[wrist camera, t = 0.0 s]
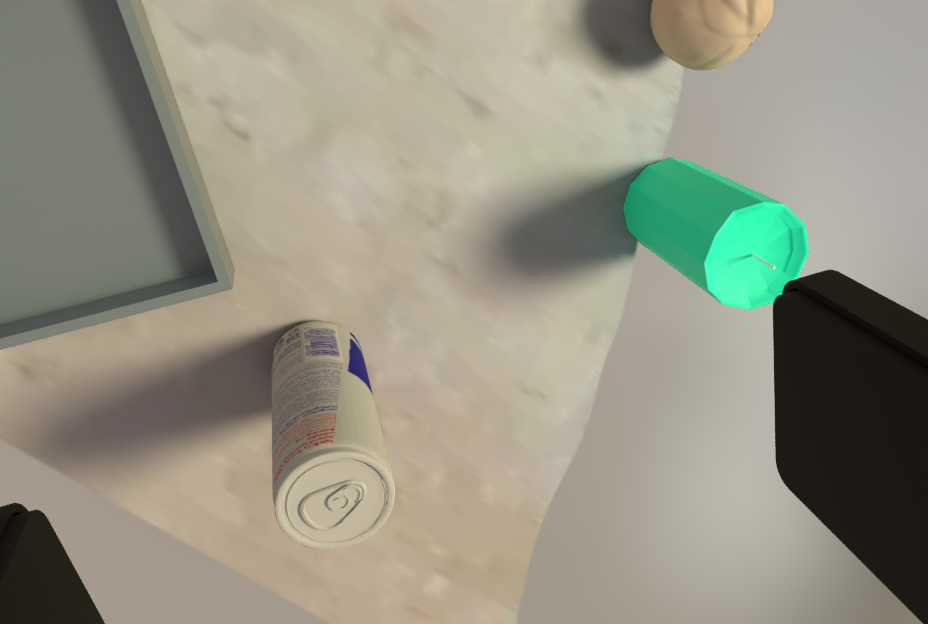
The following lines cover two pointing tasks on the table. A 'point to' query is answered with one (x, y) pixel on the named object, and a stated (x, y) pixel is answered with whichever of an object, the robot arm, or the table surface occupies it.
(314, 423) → the beverage can
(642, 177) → the candle
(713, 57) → the garlic bulb
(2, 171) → the tray
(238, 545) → the table surface
